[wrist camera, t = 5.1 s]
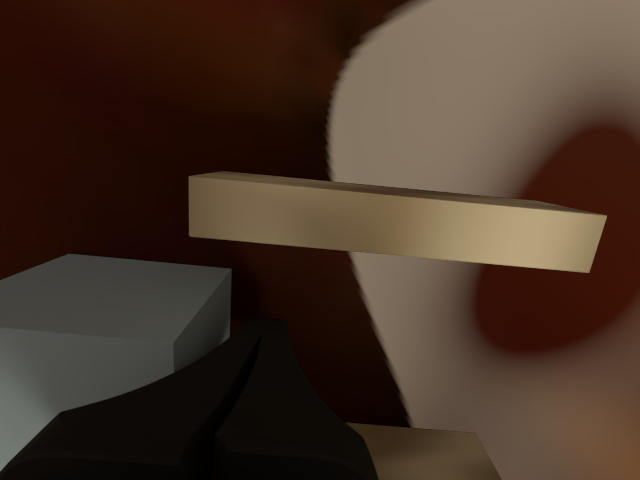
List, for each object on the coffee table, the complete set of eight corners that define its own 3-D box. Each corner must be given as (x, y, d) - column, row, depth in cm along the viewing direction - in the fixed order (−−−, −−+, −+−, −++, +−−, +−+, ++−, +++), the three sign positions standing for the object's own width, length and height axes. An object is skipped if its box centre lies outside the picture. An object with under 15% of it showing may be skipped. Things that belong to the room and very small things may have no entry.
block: (231, 268, 12) (172, 342, 7) (228, 373, 13) (175, 496, 8) (68, 253, 12) (-100, 318, 7) (79, 360, 13) (-61, 479, 8)
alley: (535, 200, 12) (606, 215, 9) (467, 462, 14) (504, 540, 12) (222, 170, 11) (188, 176, 8) (217, 442, 14) (190, 517, 11)
